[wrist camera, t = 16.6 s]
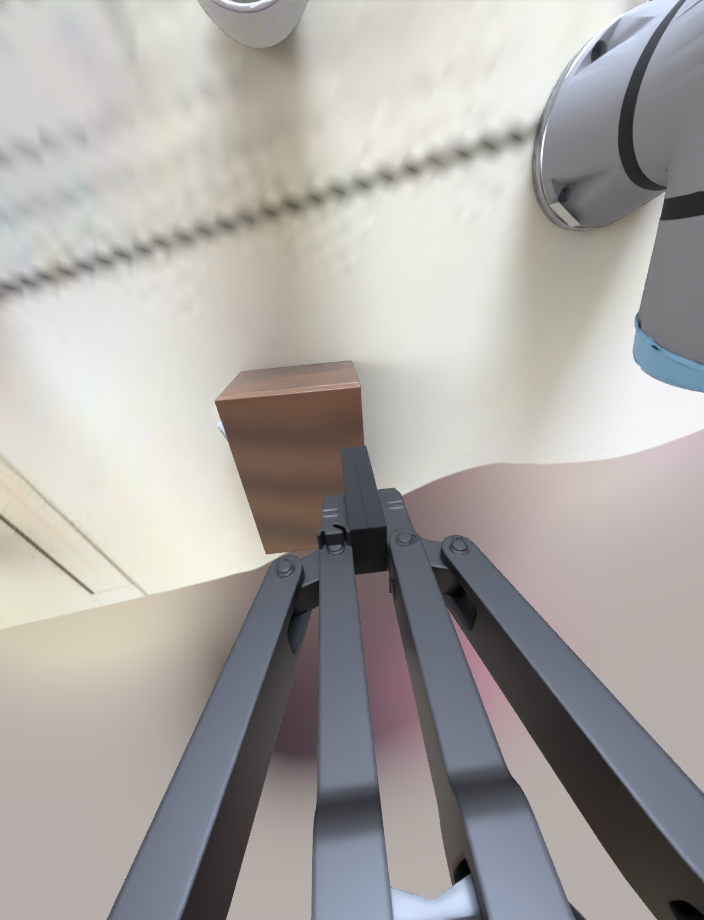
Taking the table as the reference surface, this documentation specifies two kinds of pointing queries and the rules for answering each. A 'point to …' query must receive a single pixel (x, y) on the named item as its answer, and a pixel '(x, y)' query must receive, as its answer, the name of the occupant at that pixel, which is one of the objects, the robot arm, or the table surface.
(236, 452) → the desk riser
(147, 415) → the table surface
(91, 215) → the table surface
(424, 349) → the table surface
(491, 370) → the table surface
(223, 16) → the teacup
